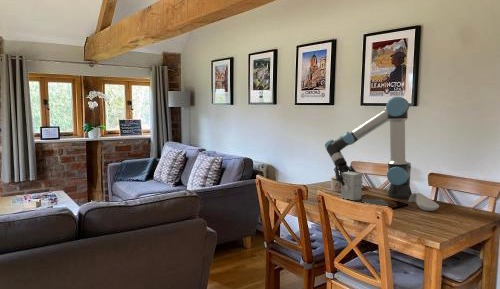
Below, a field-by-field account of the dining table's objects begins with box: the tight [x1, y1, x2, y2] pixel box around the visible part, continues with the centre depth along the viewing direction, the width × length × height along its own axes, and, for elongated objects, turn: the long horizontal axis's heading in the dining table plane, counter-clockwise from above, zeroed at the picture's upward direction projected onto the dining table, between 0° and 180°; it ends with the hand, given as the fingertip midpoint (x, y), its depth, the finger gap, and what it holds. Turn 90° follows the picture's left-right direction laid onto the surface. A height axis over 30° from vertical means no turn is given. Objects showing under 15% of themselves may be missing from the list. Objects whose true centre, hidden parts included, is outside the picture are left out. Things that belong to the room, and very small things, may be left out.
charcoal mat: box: [360, 198, 390, 207], centre depth 230 cm, size 13×13×1 cm
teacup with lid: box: [330, 175, 341, 193], centre depth 265 cm, size 12×9×12 cm
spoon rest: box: [408, 192, 440, 212], centre depth 224 cm, size 24×12×7 cm, turn 5°
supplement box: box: [340, 170, 363, 201], centre depth 240 cm, size 10×9×17 cm
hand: (354, 188), depth 238 cm, fingers closed on supplement box, 11 cm apart
